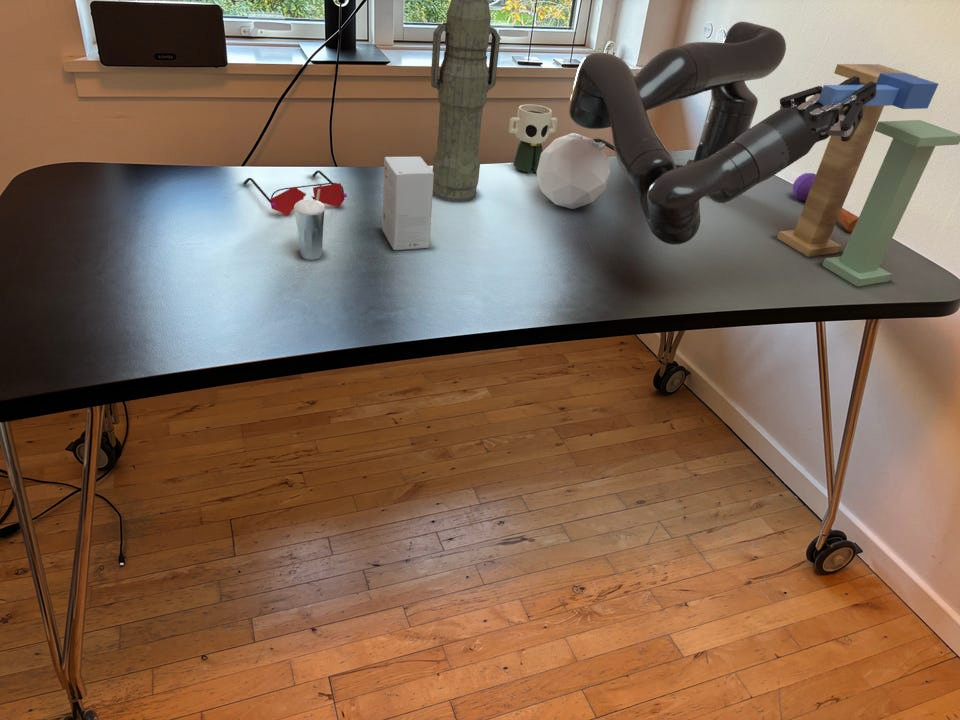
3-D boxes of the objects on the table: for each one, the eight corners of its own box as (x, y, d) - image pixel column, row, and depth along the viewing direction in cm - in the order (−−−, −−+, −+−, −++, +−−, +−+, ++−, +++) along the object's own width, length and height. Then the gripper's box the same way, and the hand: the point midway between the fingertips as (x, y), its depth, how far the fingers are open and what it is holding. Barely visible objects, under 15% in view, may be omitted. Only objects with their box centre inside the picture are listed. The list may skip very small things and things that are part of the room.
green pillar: (852, 287, 122) (920, 137, 108) (817, 266, 128) (878, 121, 113) (892, 280, 126) (963, 135, 111) (856, 260, 132) (919, 119, 117)
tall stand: (803, 257, 131) (875, 76, 113) (773, 238, 137) (837, 63, 118) (842, 252, 135) (918, 76, 116) (811, 234, 140) (878, 64, 122)
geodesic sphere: (628, 171, 142) (596, 107, 136) (628, 197, 130) (592, 128, 125) (562, 204, 148) (529, 144, 143) (556, 232, 137) (519, 167, 131)
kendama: (846, 215, 140) (790, 170, 155) (838, 241, 144) (784, 195, 159) (873, 210, 141) (815, 166, 155) (864, 235, 145) (809, 190, 159)
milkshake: (333, 251, 114) (332, 192, 109) (316, 264, 110) (314, 203, 104) (308, 244, 115) (306, 185, 110) (291, 257, 111) (287, 197, 105)
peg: (839, 110, 99) (850, 84, 97) (808, 98, 104) (817, 72, 101) (927, 108, 106) (938, 83, 104) (894, 97, 111) (904, 73, 109)
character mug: (509, 175, 150) (517, 113, 143) (498, 164, 156) (505, 103, 148) (556, 174, 154) (566, 114, 146) (543, 163, 159) (552, 104, 152)
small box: (430, 248, 118) (435, 173, 111) (392, 251, 116) (395, 174, 109) (417, 228, 124) (420, 155, 117) (381, 230, 122) (383, 156, 115)
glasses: (272, 219, 121) (270, 191, 119) (243, 184, 133) (240, 158, 130) (348, 209, 128) (348, 182, 125) (314, 176, 139) (313, 151, 136)
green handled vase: (491, 199, 139) (513, 2, 119) (435, 204, 134) (449, -1, 114) (471, 182, 145) (490, -8, 125) (418, 187, 140) (428, -10, 120)
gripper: (802, 141, 94) (907, 73, 95) (732, 110, 104) (828, 49, 105) (805, 187, 99) (905, 121, 100) (738, 153, 109) (830, 94, 110)
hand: (865, 85), depth 103 cm, fingers closed on peg, 2 cm apart
